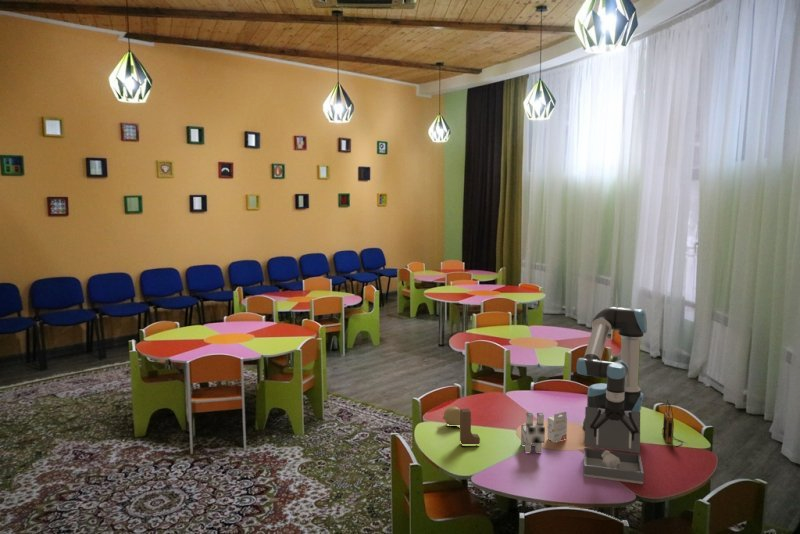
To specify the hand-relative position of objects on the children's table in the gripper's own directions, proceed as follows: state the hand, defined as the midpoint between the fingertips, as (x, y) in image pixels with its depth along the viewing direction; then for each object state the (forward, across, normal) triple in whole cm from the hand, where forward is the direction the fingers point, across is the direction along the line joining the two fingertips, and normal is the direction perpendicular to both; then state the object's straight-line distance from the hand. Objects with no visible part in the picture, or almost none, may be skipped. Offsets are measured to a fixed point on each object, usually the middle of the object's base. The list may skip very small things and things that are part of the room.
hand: (613, 445), depth 259 cm
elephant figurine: (+11, 0, -1) cm, 11 cm away
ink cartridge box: (+12, -25, +25) cm, 38 cm away
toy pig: (+12, -78, +28) cm, 84 cm away
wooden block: (+12, -66, +7) cm, 67 cm away
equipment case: (+12, 0, -1) cm, 12 cm away
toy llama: (+12, -36, +10) cm, 39 cm away
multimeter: (+13, +31, +40) cm, 52 cm away
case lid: (-2, 0, +12) cm, 12 cm away
